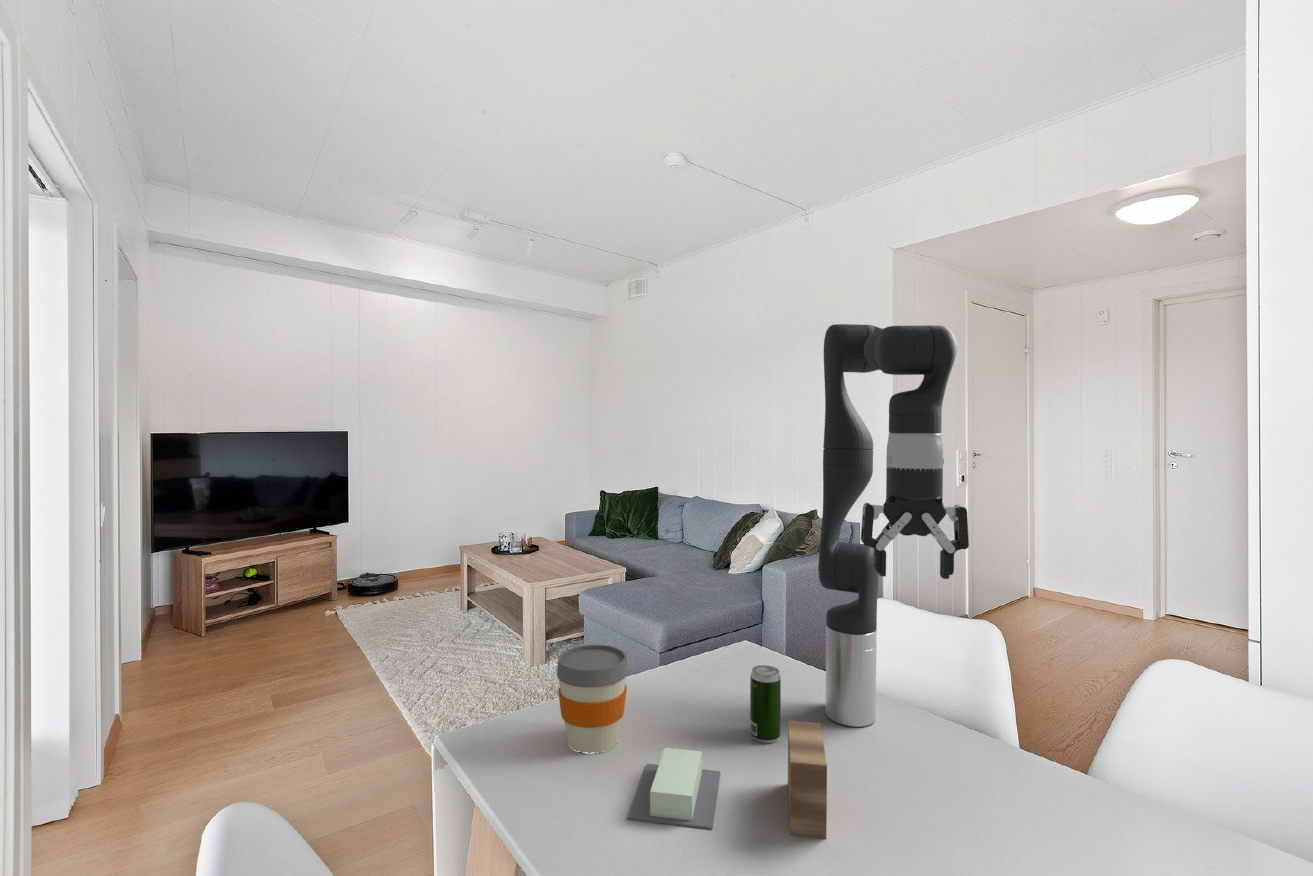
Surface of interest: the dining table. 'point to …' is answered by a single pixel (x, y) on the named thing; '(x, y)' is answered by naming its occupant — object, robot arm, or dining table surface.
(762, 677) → the beer can
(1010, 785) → the dining table surface
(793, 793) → the box
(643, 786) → the mat
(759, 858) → the dining table surface
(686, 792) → the pale green block
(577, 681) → the reusable coffee cup
